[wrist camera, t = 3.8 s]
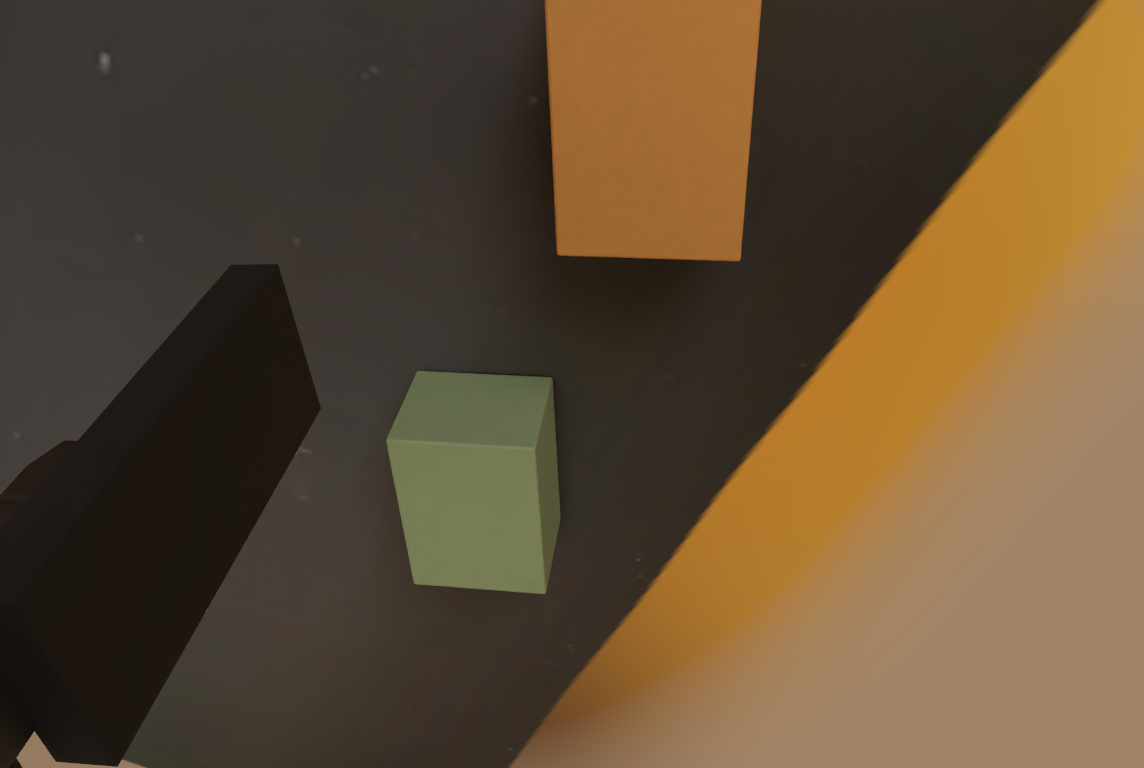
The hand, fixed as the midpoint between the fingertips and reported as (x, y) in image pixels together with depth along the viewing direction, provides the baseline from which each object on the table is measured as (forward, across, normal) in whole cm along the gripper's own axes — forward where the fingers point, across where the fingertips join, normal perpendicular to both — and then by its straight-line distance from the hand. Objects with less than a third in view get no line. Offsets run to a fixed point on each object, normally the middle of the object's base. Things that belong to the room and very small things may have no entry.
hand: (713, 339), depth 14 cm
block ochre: (+15, -2, -1) cm, 15 cm away
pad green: (+15, -8, -15) cm, 23 cm away
